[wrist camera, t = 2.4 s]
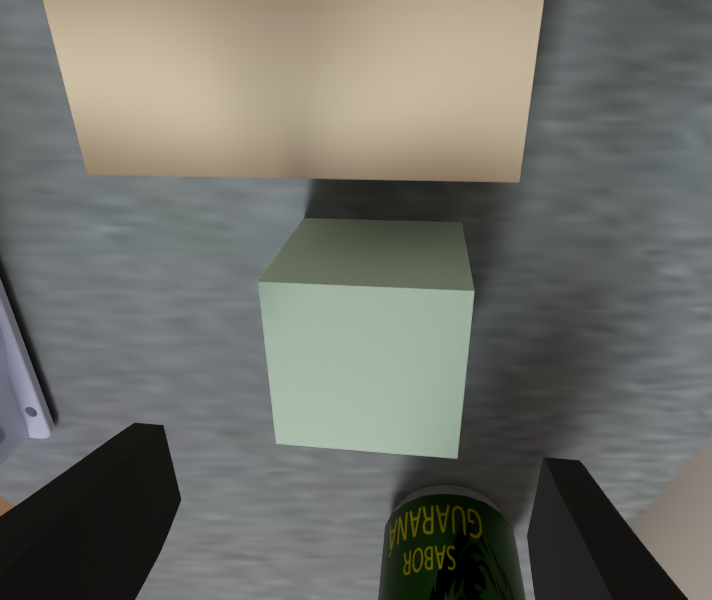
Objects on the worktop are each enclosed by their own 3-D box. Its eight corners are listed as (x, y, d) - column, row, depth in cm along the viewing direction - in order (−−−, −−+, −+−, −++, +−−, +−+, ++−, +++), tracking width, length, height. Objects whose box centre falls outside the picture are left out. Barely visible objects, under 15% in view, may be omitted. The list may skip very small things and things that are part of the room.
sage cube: (450, 356, 18) (457, 458, 13) (312, 348, 18) (276, 443, 14) (461, 221, 16) (474, 291, 11) (304, 217, 16) (257, 281, 12)
